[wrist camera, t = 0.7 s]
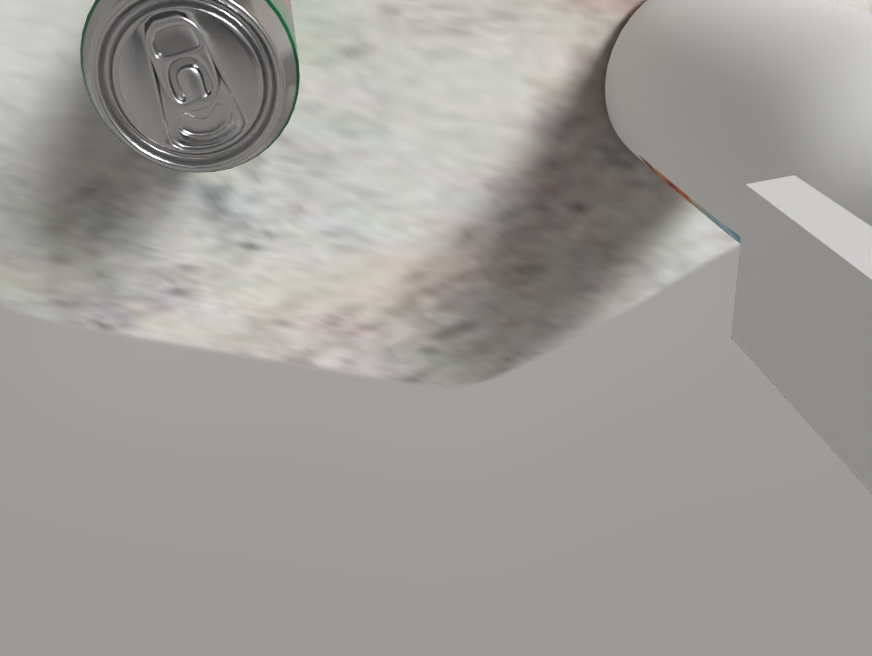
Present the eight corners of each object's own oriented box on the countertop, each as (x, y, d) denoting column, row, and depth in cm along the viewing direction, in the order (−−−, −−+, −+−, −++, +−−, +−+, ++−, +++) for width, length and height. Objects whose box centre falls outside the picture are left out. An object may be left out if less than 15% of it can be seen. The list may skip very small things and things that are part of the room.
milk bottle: (560, 92, 33) (873, 361, 16) (697, -77, 30) (1237, 29, 13) (682, 195, 36) (1047, 507, 19) (814, 50, 34) (1364, 261, 17)
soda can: (174, 86, 30) (127, 211, 20) (117, -61, 27) (28, -3, 17) (307, 50, 30) (327, 156, 20) (263, -100, 27) (260, -64, 17)
